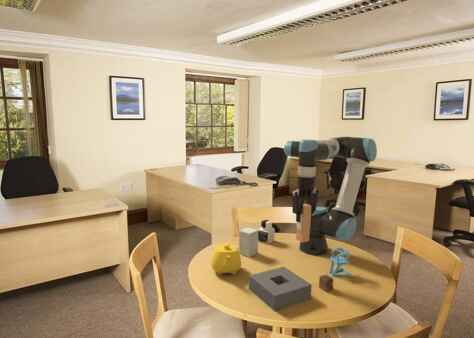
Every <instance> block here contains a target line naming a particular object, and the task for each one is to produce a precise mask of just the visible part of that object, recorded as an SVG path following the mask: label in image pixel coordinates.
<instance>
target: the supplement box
mask: <svg viewBox="0 0 474 338" xmlns="http://www.w3.org/2000/svg"><path fill="white" fill-rule="evenodd" d="M238 231H239V234H238V235H239V236H238V246H239V247H238V252H239V254H240V255H242V256H246V257H248V258H251V257H253V256H255V255H257V254H258V253H259V241H258V229H255V228H251V227H248V226H247V227H245V228H242V229H240V230H238Z"/></svg>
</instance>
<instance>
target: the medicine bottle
mask: <svg viewBox="0 0 474 338" xmlns="http://www.w3.org/2000/svg"><path fill="white" fill-rule="evenodd" d="M260 222H261V224H260V227H259V228H258V229H257V230H258V243H259V242H260V243H263V244H265V245H268V244H270V243H272V242H274V241H275V236H276V235H275V232H276V230H275V228H273V221H272V220H269V219H263V220H261V221H260Z"/></svg>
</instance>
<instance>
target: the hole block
mask: <svg viewBox="0 0 474 338" xmlns="http://www.w3.org/2000/svg"><path fill="white" fill-rule="evenodd" d="M248 290H249V291H251V292H252V293H253V294H254V295H255V296H256V297H257V298H259V299H260V300H261V301H262V302H263V303H264V304H265V305H267V306H268V307H269V308H270V309H271V310H273V311H277V310H280V309H283V308H287V307H290V306H292V305H296V304H298V303H301V302H304V301H307V300H310V299H312V284H311V283H310V282H308V281H307V280H306V279H304V278H303V277H301V276H299V275H298V274H296V273H295V272H293V271H291V270H290V269H289V268H287V267H285V266H280V267H277V268H273V269H269V270H265V271H262V272H257V273H253V274H250V275H248Z"/></svg>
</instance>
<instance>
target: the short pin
mask: <svg viewBox="0 0 474 338" xmlns="http://www.w3.org/2000/svg"><path fill="white" fill-rule="evenodd" d="M318 278H319V281H318V288H319V289H321V290H323V292H325V293H326V292H329V291H333V290H334V277H333V276H330V275H328V274H324V275H320V276H319V277H318Z"/></svg>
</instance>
